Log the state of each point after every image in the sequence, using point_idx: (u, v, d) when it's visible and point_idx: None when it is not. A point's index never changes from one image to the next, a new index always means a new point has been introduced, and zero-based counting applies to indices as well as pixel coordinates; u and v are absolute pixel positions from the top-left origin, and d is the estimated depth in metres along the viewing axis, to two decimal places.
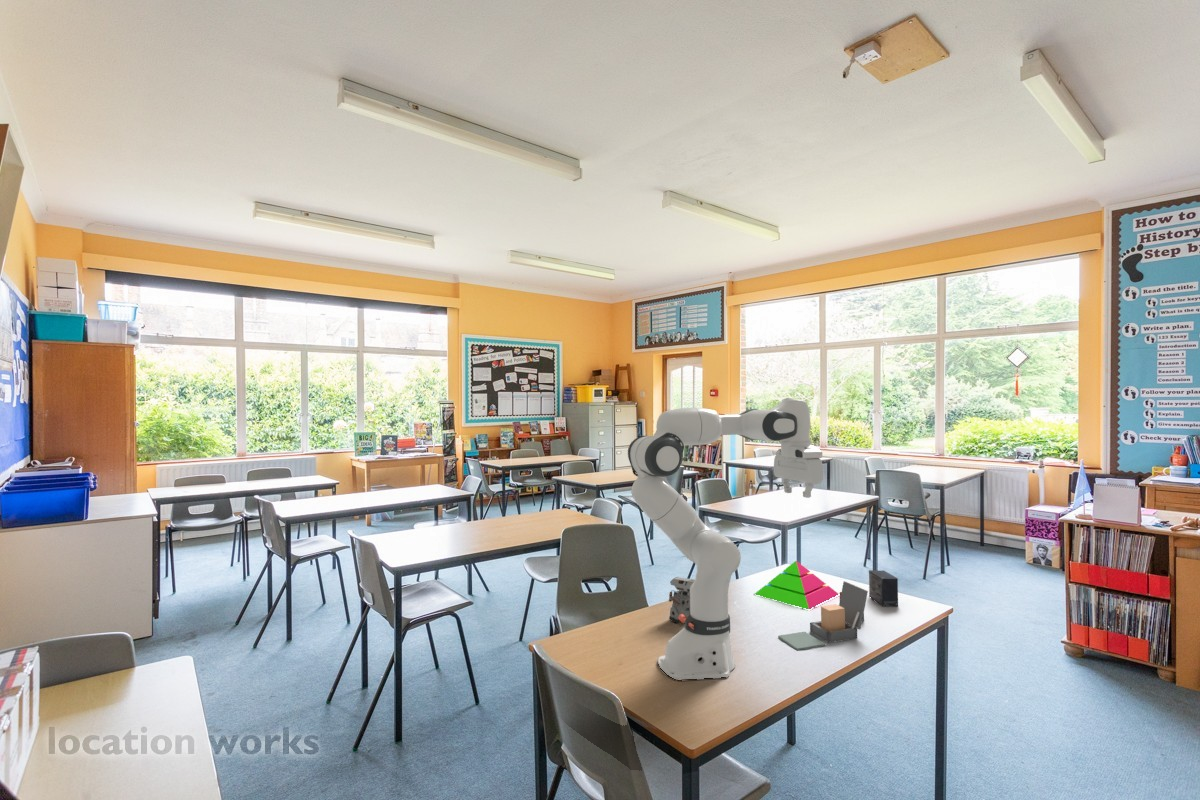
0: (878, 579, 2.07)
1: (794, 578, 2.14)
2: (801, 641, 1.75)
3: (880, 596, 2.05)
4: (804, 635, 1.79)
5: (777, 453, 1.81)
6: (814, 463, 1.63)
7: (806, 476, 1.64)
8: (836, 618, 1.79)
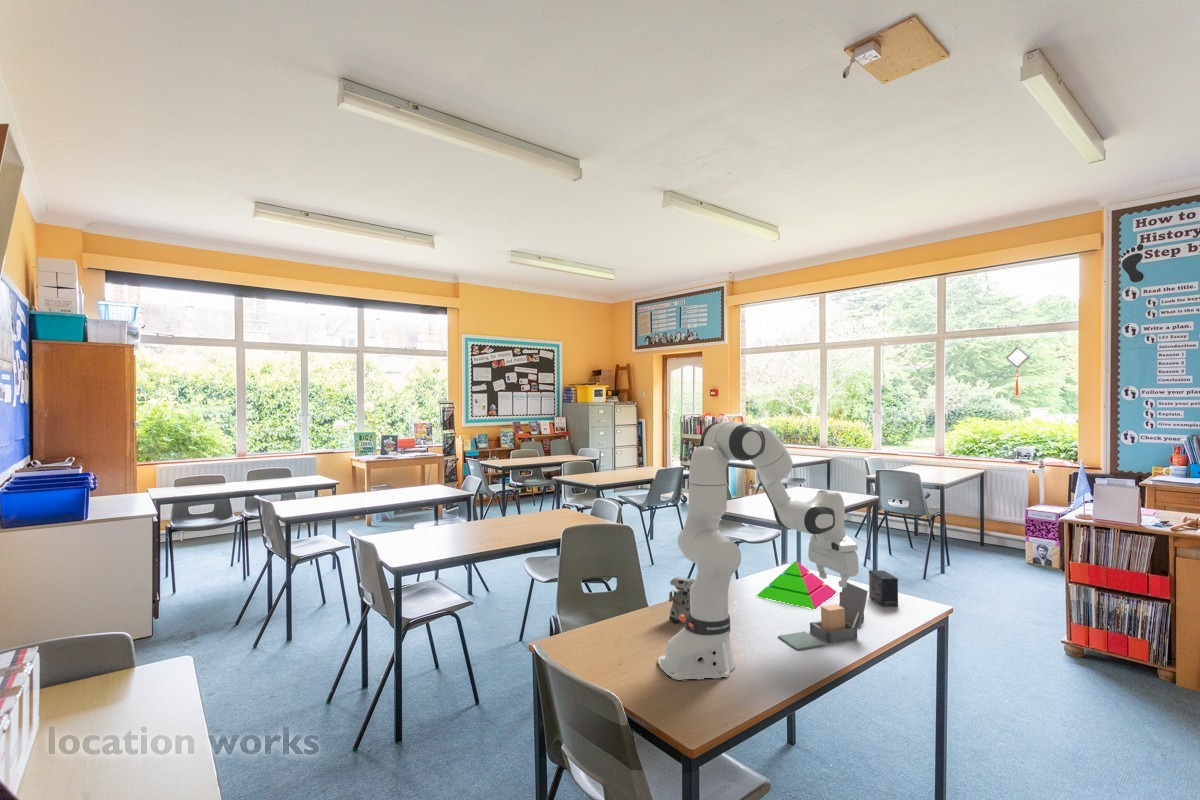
0: (878, 579, 2.07)
1: (796, 578, 2.13)
2: (801, 641, 1.75)
3: (880, 596, 2.05)
4: (804, 635, 1.79)
5: (811, 538, 1.90)
6: (850, 557, 1.72)
7: (843, 568, 1.73)
8: (836, 618, 1.79)
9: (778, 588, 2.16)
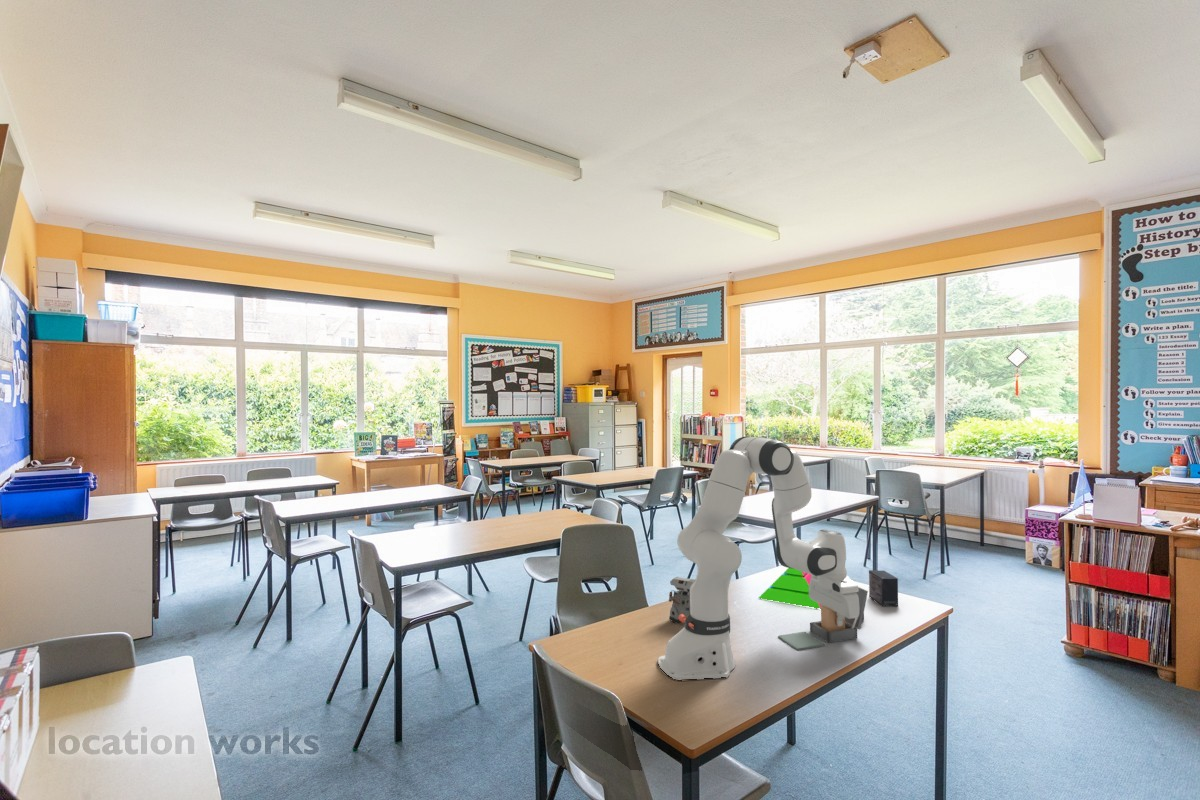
0: (878, 579, 2.07)
1: (798, 578, 2.13)
2: (801, 641, 1.75)
3: (880, 596, 2.05)
4: (804, 635, 1.79)
5: (812, 576, 1.89)
6: (851, 599, 1.71)
7: (843, 610, 1.73)
8: (836, 618, 1.79)
9: (780, 589, 2.14)
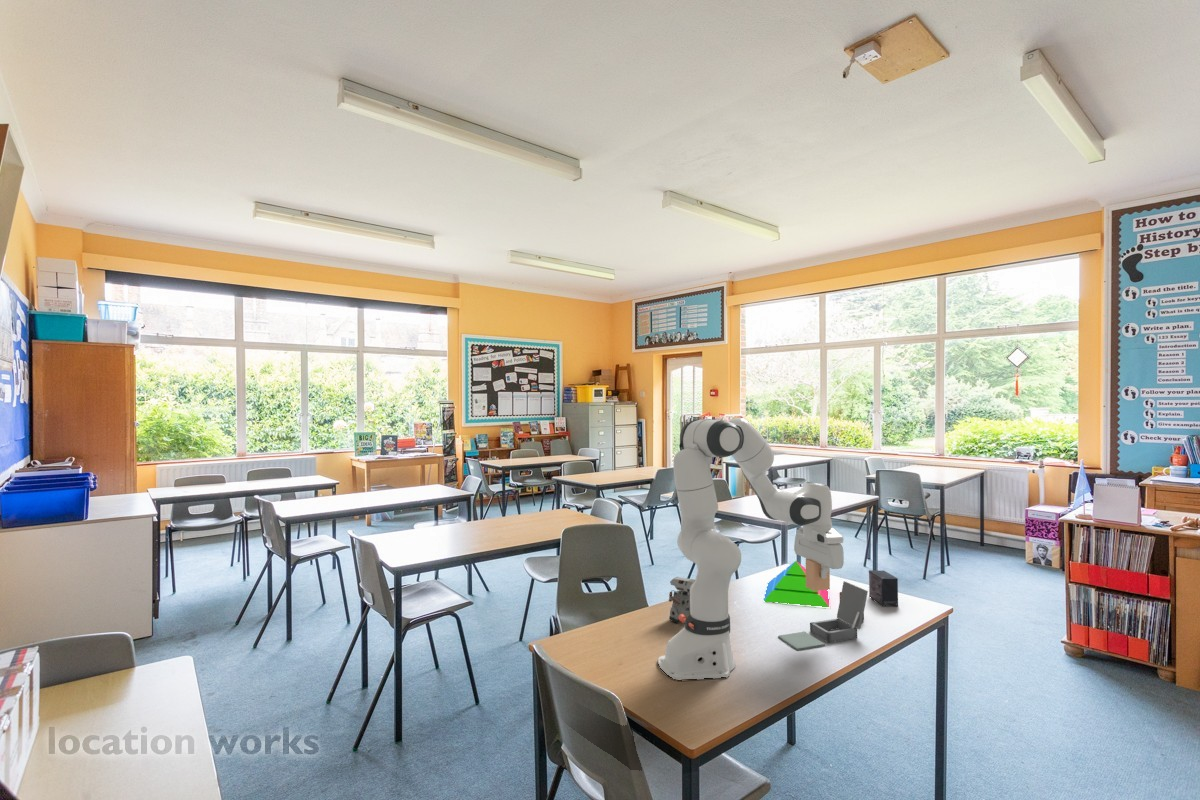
0: (878, 579, 2.07)
1: (801, 578, 2.13)
2: (801, 641, 1.75)
3: (880, 596, 2.05)
4: (804, 635, 1.79)
5: (798, 531, 1.88)
6: (835, 549, 1.70)
7: (828, 560, 1.71)
8: (820, 571, 1.77)
9: (784, 590, 2.13)
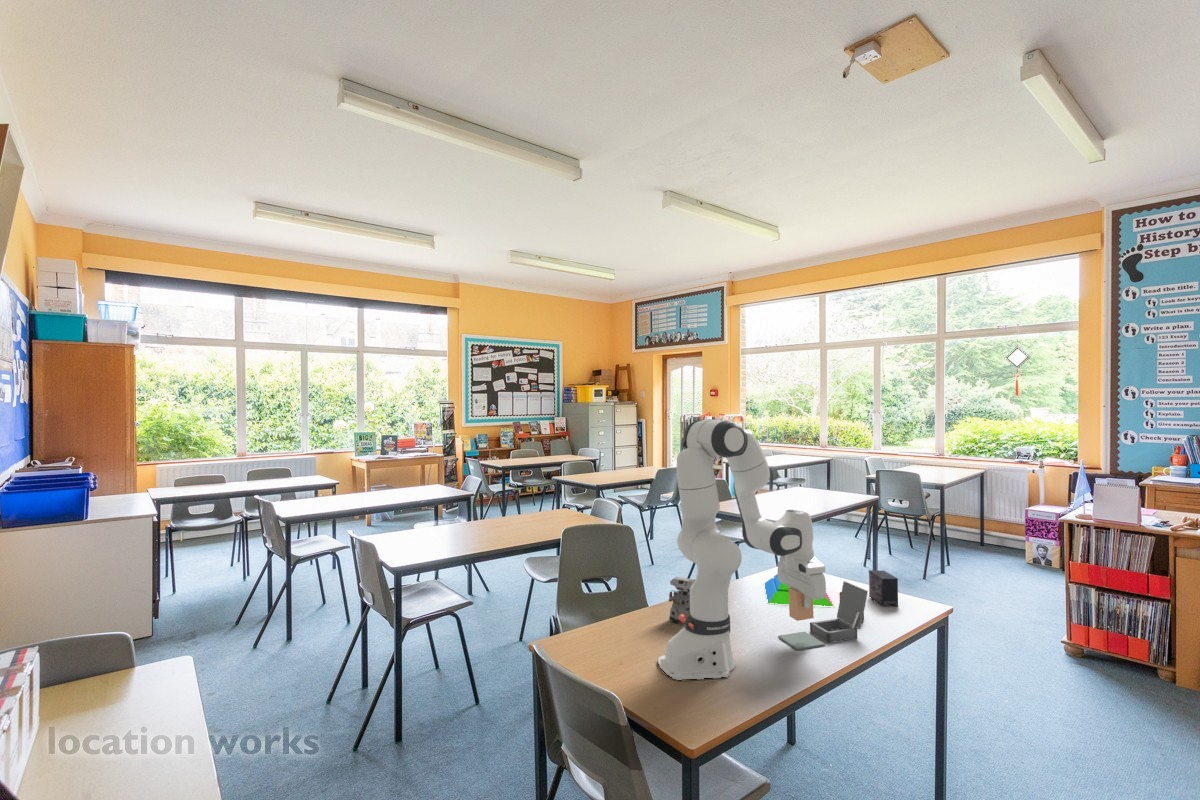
0: (878, 579, 2.07)
1: None
2: (801, 641, 1.75)
3: (880, 596, 2.05)
4: (804, 635, 1.79)
5: (781, 558, 1.85)
6: (817, 579, 1.67)
7: (810, 591, 1.69)
8: (803, 600, 1.74)
9: (787, 591, 2.12)
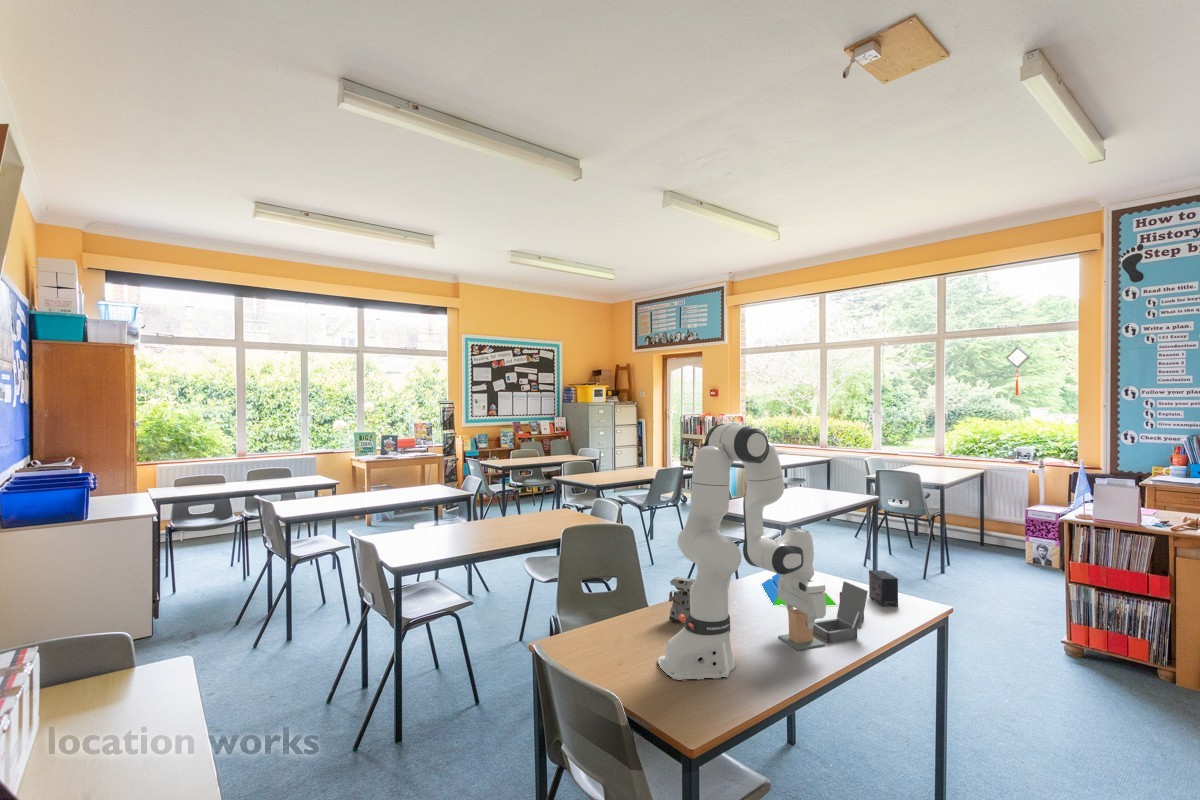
0: (878, 579, 2.07)
1: None
2: None
3: (880, 596, 2.05)
4: None
5: (781, 575, 1.85)
6: (817, 598, 1.67)
7: (810, 609, 1.68)
8: (803, 623, 1.74)
9: None
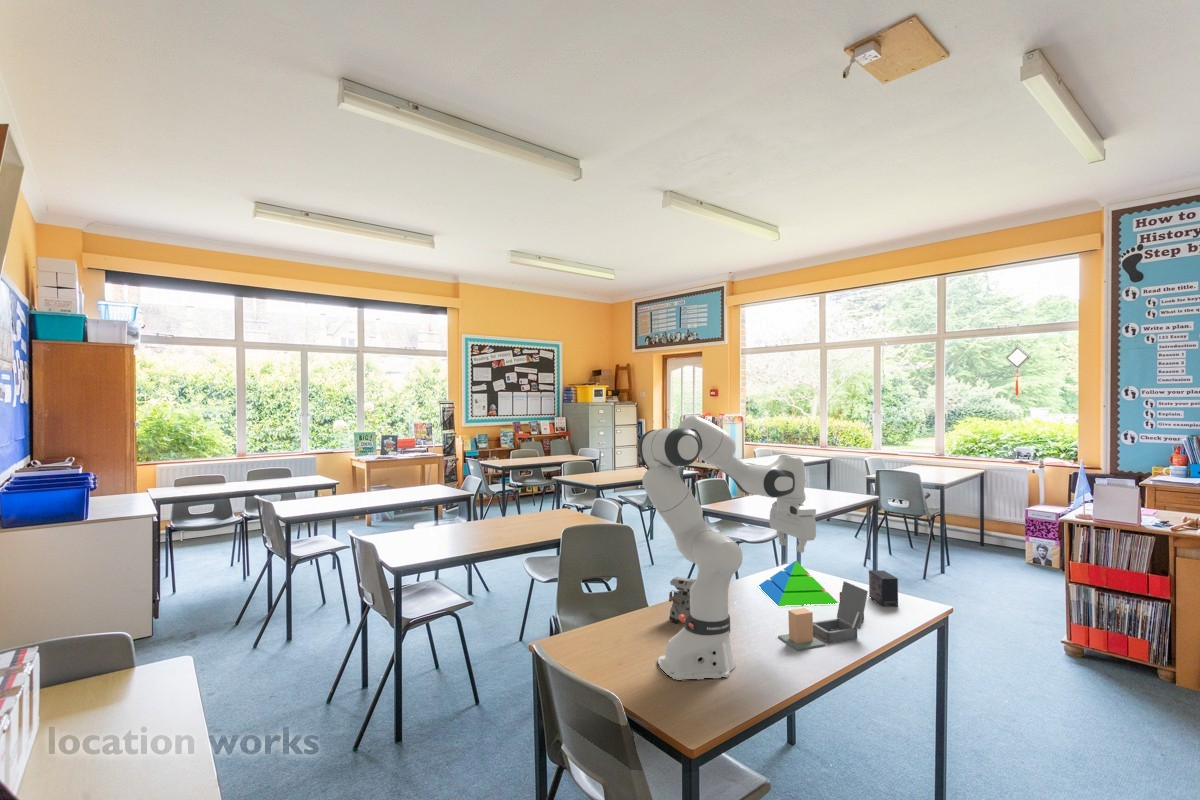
0: (878, 579, 2.07)
1: (806, 578, 2.14)
2: None
3: (880, 596, 2.05)
4: None
5: (773, 505, 1.87)
6: (807, 520, 1.69)
7: (800, 532, 1.71)
8: (803, 623, 1.74)
9: (793, 592, 2.11)
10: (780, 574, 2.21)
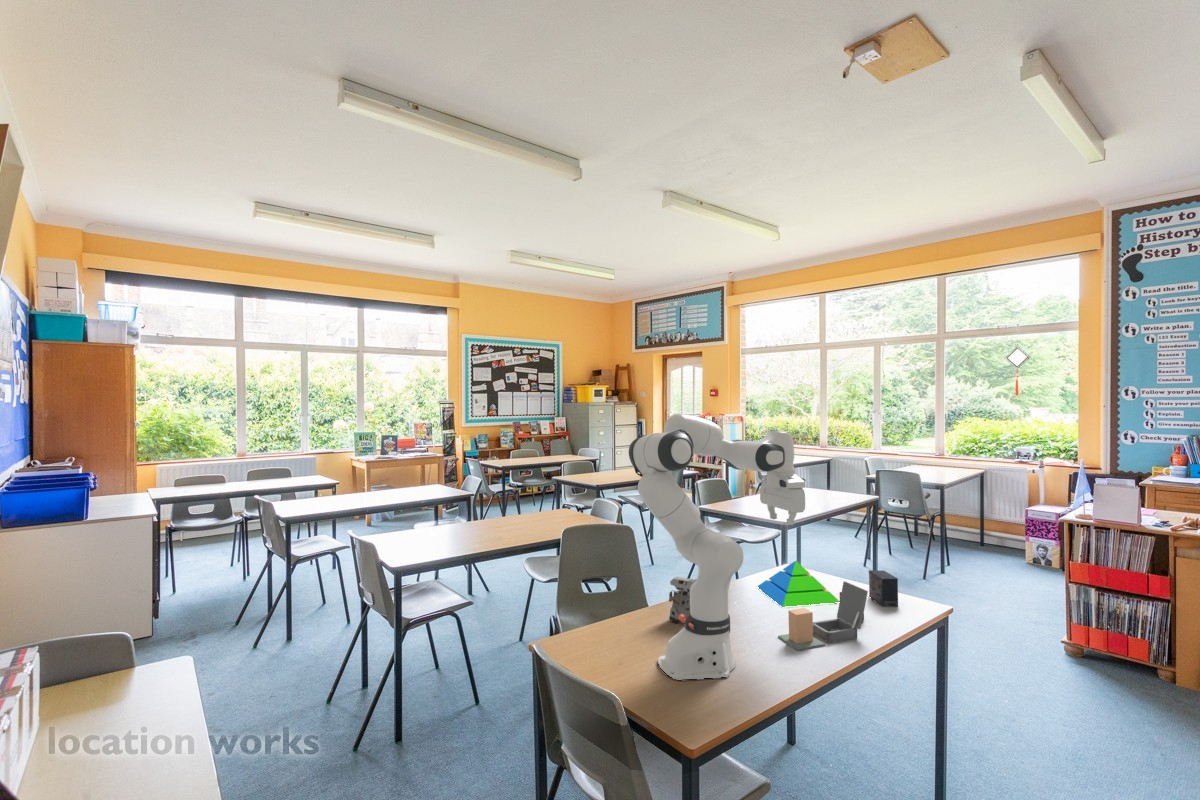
0: (878, 579, 2.07)
1: (807, 578, 2.14)
2: None
3: (880, 596, 2.05)
4: None
5: (763, 480, 1.90)
6: (797, 493, 1.72)
7: (790, 505, 1.74)
8: (803, 623, 1.74)
9: (796, 592, 2.10)
10: (780, 574, 2.20)
